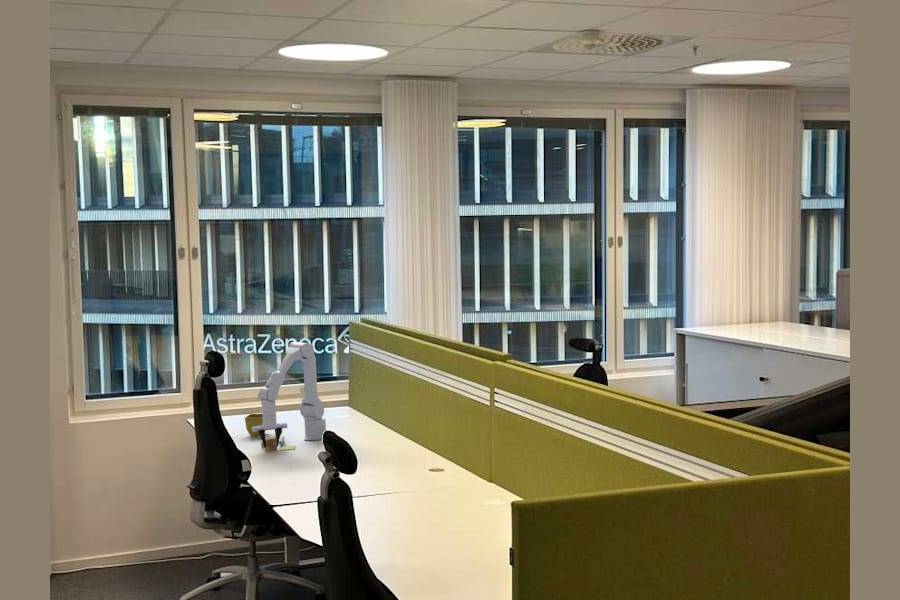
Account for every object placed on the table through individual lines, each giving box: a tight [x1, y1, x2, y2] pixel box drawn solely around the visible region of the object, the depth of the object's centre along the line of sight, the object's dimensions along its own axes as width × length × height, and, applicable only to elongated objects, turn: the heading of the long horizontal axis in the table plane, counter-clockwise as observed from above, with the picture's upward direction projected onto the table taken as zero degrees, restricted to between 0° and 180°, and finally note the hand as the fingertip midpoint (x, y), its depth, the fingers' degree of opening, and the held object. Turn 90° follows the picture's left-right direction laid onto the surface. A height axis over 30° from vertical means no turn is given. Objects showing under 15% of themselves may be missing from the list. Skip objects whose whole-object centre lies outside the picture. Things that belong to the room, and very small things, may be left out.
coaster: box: [279, 445, 297, 451], centre depth 392 cm, size 6×6×1 cm
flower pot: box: [244, 413, 267, 437], centre depth 420 cm, size 9×9×9 cm
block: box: [264, 436, 278, 452], centre depth 391 cm, size 4×4×5 cm
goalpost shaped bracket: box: [260, 435, 286, 449], centre depth 399 cm, size 9×10×2 cm
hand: (270, 446), depth 390 cm, fingers closed on block, 4 cm apart
